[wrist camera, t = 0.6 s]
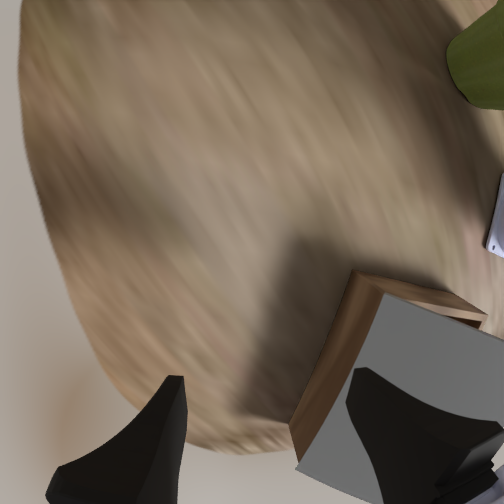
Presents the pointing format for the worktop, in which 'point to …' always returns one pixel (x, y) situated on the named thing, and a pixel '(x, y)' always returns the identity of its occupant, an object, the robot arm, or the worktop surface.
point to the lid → (410, 386)
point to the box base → (352, 339)
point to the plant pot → (480, 60)
